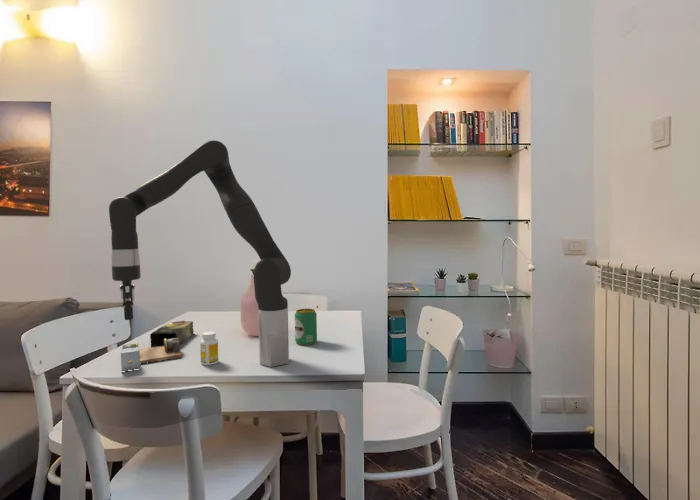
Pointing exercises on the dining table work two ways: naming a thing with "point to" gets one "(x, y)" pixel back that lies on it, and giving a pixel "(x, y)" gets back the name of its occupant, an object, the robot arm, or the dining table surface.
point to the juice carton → (173, 331)
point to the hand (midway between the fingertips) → (128, 316)
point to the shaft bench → (159, 351)
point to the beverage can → (305, 327)
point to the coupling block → (130, 359)
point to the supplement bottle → (209, 348)
